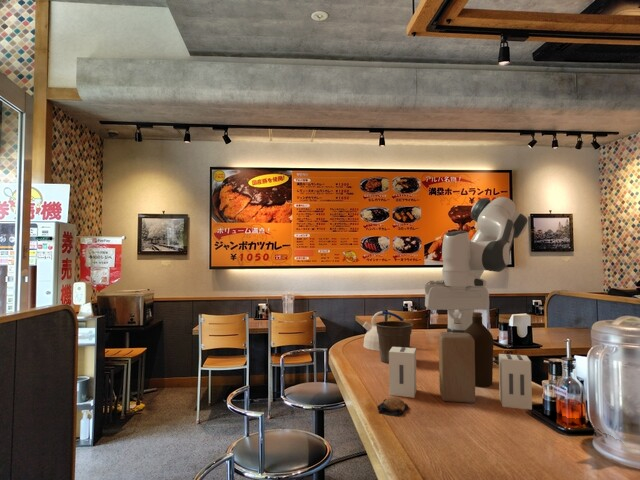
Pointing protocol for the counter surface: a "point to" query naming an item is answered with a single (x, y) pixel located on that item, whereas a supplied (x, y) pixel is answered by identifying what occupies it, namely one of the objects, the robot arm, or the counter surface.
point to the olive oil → (482, 351)
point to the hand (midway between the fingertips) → (457, 323)
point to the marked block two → (515, 381)
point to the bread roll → (392, 407)
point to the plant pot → (393, 336)
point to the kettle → (374, 332)
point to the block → (457, 367)
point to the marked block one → (402, 371)
